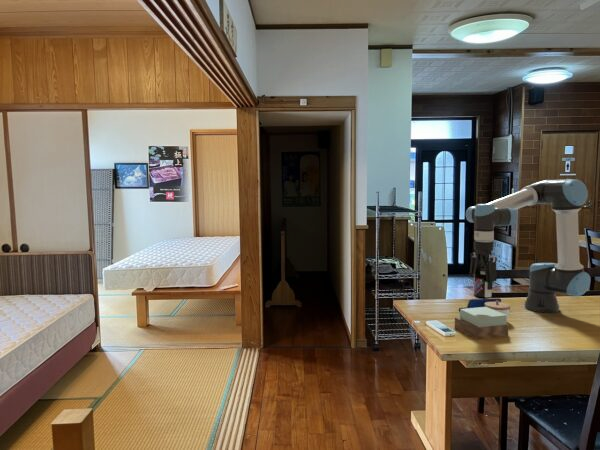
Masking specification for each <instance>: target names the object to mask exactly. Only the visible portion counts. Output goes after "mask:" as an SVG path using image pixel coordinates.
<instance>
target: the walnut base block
mask: <svg viewBox="0 0 600 450" xmlns="http://www.w3.org/2000/svg"><path fill="white" fill-rule="evenodd" d="M454 328H455V329H456V330H459V331H461V332H462V333H465V334H466V335H468V336H470V337H472V338H474V339H477V340H480V339H482V340H483V339H489V338H497V337H499V338H500V337H507V336H509V324H507V325H499V326H489V327H480V328H479V327H477V326H475V325H473V324H471V323H469V322H467V321H465V320H463V319H461V318H460V316H455V317H454Z"/></svg>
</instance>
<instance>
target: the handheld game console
mask: <svg viewBox="0 0 600 450" xmlns="http://www.w3.org/2000/svg"><path fill="white" fill-rule="evenodd" d="M490 301H499V302H502V299H501V298H488V299H480V298H476V299H475V298H473V299H470V300H469V301H468V303H467V306H466V307H458V311H459V312H460V309H467V308H478V307H485V306H484V304H485V302H490Z"/></svg>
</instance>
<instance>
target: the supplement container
mask: <svg viewBox="0 0 600 450" xmlns="http://www.w3.org/2000/svg"><path fill="white" fill-rule="evenodd" d="M489 279H490V278H489ZM485 281H487V280H486V275H485V271H483V270H482V271H481V270H480V271H478V272H474V293H473V296H474V298H476V299H491V297H485Z"/></svg>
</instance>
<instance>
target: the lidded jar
mask: <svg viewBox="0 0 600 450" xmlns="http://www.w3.org/2000/svg"><path fill="white" fill-rule="evenodd" d="M484 306H485V307H488V308H490V309H493V310H495V311H498V312H500V313H503V314H505V315H507V319H508V318H509V316H510V310H511V305H510V304H509V303H506V302H503V301H501V302H499V301H490V302H485V304H484Z"/></svg>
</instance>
